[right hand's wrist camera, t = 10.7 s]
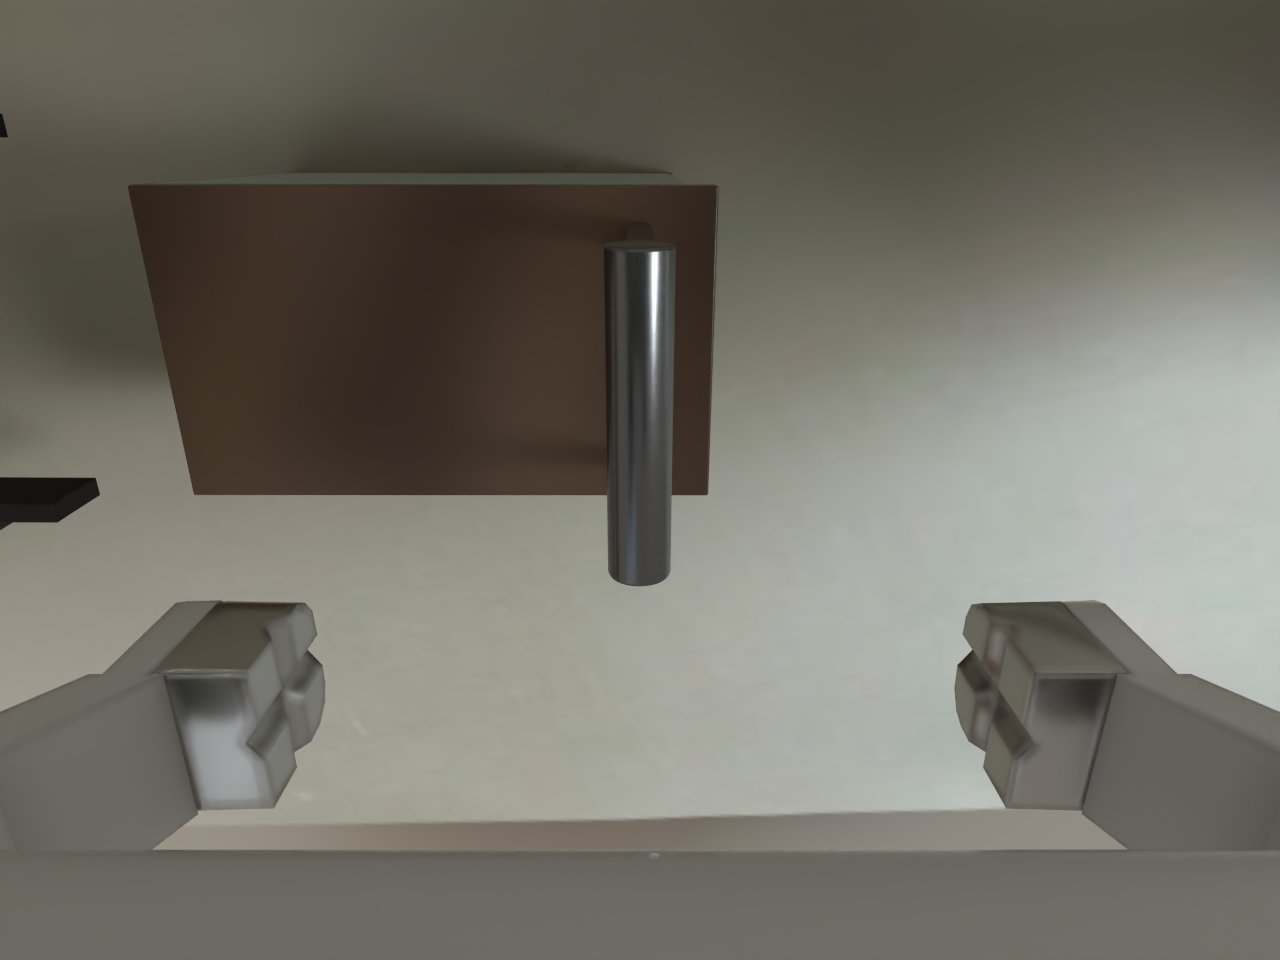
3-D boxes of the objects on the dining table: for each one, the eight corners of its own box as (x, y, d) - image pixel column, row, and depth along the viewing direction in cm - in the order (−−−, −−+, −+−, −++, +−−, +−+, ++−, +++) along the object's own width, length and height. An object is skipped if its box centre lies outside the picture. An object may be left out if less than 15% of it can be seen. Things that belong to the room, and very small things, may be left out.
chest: (670, 172, 35) (684, 183, 24) (667, 392, 38) (678, 485, 28) (292, 171, 35) (144, 182, 24) (324, 392, 38) (207, 484, 28)
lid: (716, 184, 24) (753, 202, 16) (705, 485, 28) (733, 619, 20) (144, 183, 24) (-95, 201, 16) (206, 485, 28) (35, 619, 20)
